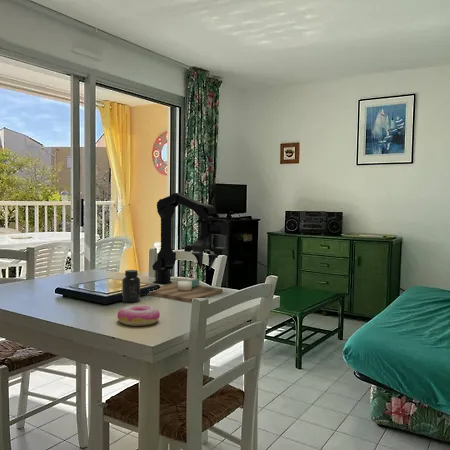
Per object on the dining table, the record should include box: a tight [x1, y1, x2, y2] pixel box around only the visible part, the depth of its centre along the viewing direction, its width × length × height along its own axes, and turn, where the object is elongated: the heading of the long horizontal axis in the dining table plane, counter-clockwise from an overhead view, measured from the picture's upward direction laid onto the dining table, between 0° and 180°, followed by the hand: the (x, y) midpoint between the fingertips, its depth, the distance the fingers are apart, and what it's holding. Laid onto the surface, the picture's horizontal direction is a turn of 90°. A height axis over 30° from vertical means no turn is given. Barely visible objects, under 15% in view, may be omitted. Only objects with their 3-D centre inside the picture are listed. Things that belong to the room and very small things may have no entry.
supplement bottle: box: [121, 269, 141, 304], centre depth 177 cm, size 7×7×12 cm
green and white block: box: [177, 278, 200, 291], centre depth 197 cm, size 13×6×3 cm, turn 151°
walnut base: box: [147, 281, 224, 304], centre depth 194 cm, size 24×24×2 cm
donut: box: [117, 304, 160, 327], centre depth 150 cm, size 14×13×5 cm
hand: (204, 269), depth 198 cm, fingers open, 4 cm apart
